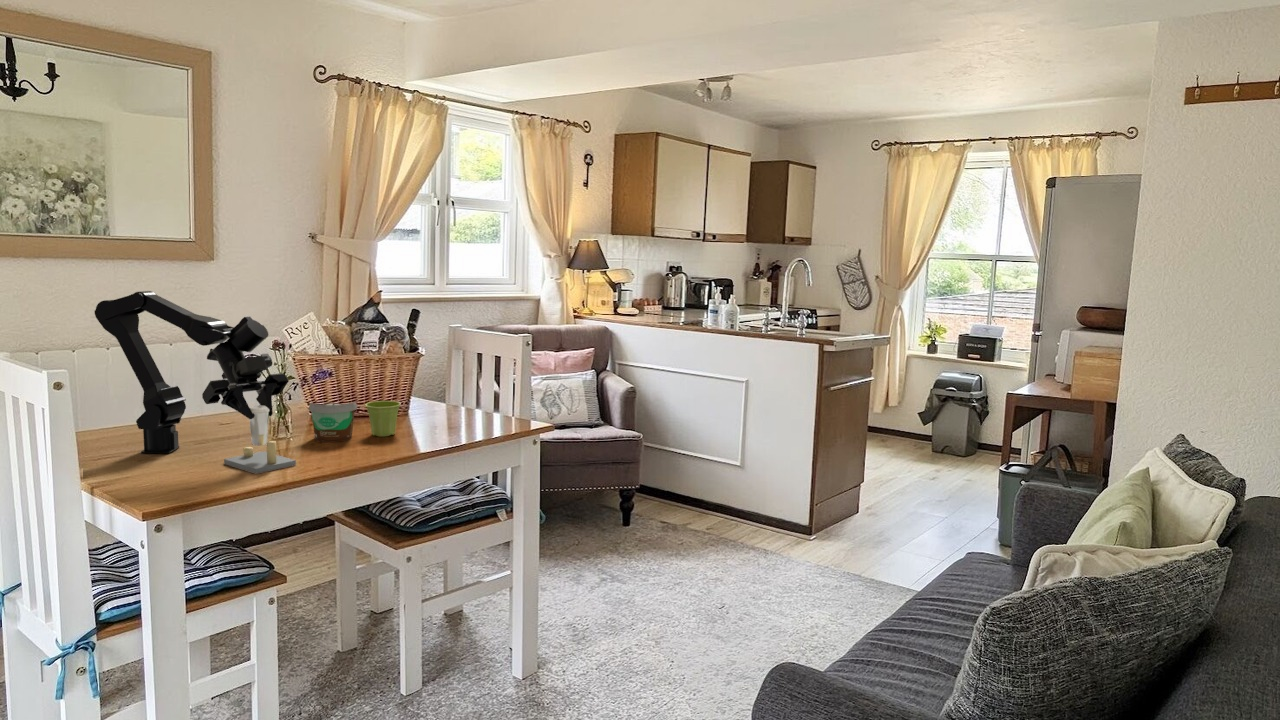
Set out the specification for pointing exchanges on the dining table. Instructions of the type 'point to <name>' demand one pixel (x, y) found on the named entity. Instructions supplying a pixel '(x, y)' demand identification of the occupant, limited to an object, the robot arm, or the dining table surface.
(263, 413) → the milkshake
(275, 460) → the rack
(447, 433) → the dining table surface
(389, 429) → the plant pot
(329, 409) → the food container
